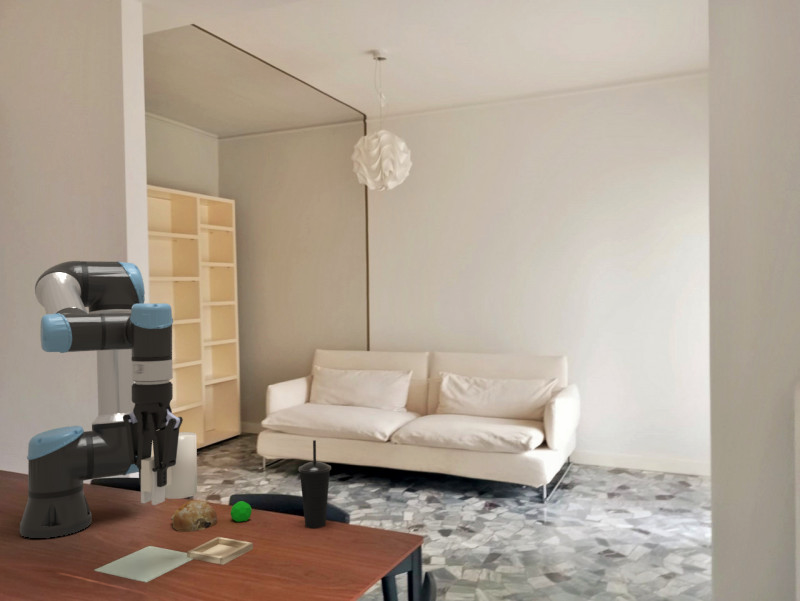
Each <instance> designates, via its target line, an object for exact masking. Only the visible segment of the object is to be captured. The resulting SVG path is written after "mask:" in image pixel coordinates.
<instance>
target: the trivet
mask: <svg viewBox="0 0 800 601" xmlns="http://www.w3.org/2000/svg"><path fill="white" fill-rule="evenodd" d="M193 560H195V559H194V558H189V557H187V552H185V551H178V550H173V549H167V548H163V547H157V546H153V545H148V546H146V547H143V548H142V549H141V548H140V550H139V549H138V550H136V551H134V552H132V553H130V554H128V555H125V556H122V557H121V558H118V559H116V560H113V561H112V562H109V563H107V564H105V565H103V566H100V567H98V568H95V569H94V570H93V571H95V572H98V573H102V574H107V575H111V576H116V577H121V578H124V579H129V580H133V581H138V582H142V583H148V582H150V581H153V580H154V579H157V578H158V577H160V576H163V575H164V574H166V573H168V572H171V571H173V570H175V569H176V568H179V567H181V566H183V565H184V564H187V563H189V562H191V561H193Z"/></svg>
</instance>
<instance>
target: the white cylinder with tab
mask: <svg viewBox="0 0 800 601" xmlns="http://www.w3.org/2000/svg"><path fill="white" fill-rule="evenodd" d="M197 440H198V439H197V433H195V432H188V431H185V432H183V431H182V432H180V431H179V437H178V447H177V457H176V464H175V465H174V466H171V467H169V468H168V469H167V484H166V486H165V499H170V500H175V499H176V500H177V499H178V500H179V499H185V498H190V497H192V496H196V494H197V493H198V470H197V469H198V461H197V460H198V458H197V457H198V455H197V454H198V452H197V451H198V450H197V445H198V444H197V442H198V441H197ZM153 468H155V464H154V455H153V456H151V457H150V458H146V459H143V460H141V484H140V487H141V486H142V491H145V492H151V491H152V469H153Z"/></svg>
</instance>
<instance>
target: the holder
mask: <svg viewBox="0 0 800 601" xmlns="http://www.w3.org/2000/svg"><path fill="white" fill-rule="evenodd" d="M252 550H254V542H249V541H245V540H239V539H233V538H226V537H221V536H217V537H215V538H212V539H211V540H209V541H207V542H205V543H203V544H201V545H198V546H196V547H195V548H192V549H190V550H187V552H186V553H187V557H189V558H194V559H193V560H197V561H201V562H206V563H212V564H217V565H221V566H224V565H226V564H228V563H230V562H232V561H233V560H235V559H237V558H239V557H240V556H243V555H244V554H247V553H248V552H250V551H252Z"/></svg>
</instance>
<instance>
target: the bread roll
mask: <svg viewBox="0 0 800 601" xmlns="http://www.w3.org/2000/svg"><path fill="white" fill-rule="evenodd" d="M170 520H171V522H172V528H173V529H174V530H175V531H178V532H196V531H202V530H205V529H208V528H211V527H213V526H214V525H216V524H217V521H218V516H217V512H216V511H215V509H214V507H213V506H212V505H210V504H209V503H208V502H207V501H206V500H205V501H202V500H200V499H199V500H198V499H196V500H193V499H192V500H189V501H186V502H185V503H183V504H181V505H180V506H179V507H178V508H177V509H176V510H175V511H174V514H173V515H172V516H171V518H170Z"/></svg>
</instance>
